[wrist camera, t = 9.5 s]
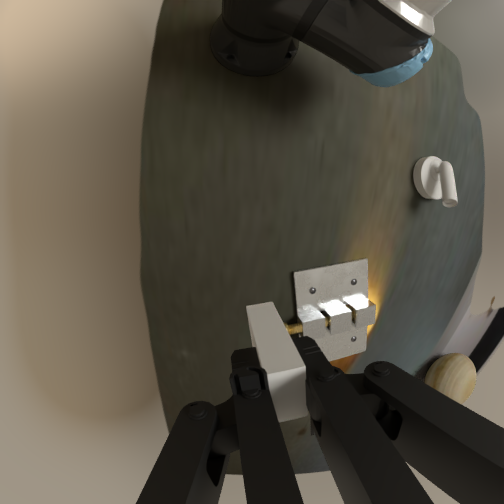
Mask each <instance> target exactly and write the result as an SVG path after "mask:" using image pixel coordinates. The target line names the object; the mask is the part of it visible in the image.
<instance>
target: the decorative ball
mask: <svg viewBox="0 0 504 504" xmlns="http://www.w3.org/2000/svg"><path fill="white" fill-rule="evenodd" d="M424 383H425V384H427V385H429V386H430V387H432V388H434V389H436V390H437V391H439V392H441V393H442V394H444V395H446V396H448V397H449V398H451V399H453V400H454V401H456V402H458V403H460V404H462V403H464V402H465V401H466V400H467V399H468V398H469V396H470V395H471V393H472V392H473V389H474V387H475V383H476V370H475V367H474V364H473V363H472V361H471V360H470V359H469V358H468V357H467V356H465V355H462V354H459V353H450V354H447V355H444V356H442V357H440V358H439V359H437V360H436V361H435V362H434V363H433V364H432V365H431V367H430V368H429V370H428V372H427V374H426V376H425V380H424Z"/></svg>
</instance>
